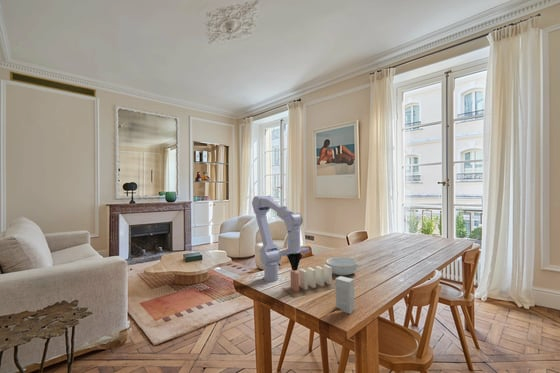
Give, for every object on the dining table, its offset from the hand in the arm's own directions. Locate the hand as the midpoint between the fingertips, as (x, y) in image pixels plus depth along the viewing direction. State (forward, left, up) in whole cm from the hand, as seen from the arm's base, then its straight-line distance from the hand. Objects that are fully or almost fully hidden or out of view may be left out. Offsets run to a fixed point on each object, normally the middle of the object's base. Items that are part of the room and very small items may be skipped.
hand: (294, 269), depth 116 cm
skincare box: (+21, +15, -10) cm, 28 cm away
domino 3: (-4, +13, -9) cm, 16 cm away
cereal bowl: (-17, +30, -10) cm, 36 cm away
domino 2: (-2, +9, -9) cm, 13 cm away
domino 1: (-1, +4, -9) cm, 10 cm away
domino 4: (-5, +17, -9) cm, 20 cm away
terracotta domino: (0, 0, -9) cm, 9 cm away
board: (0, +8, -10) cm, 13 cm away
